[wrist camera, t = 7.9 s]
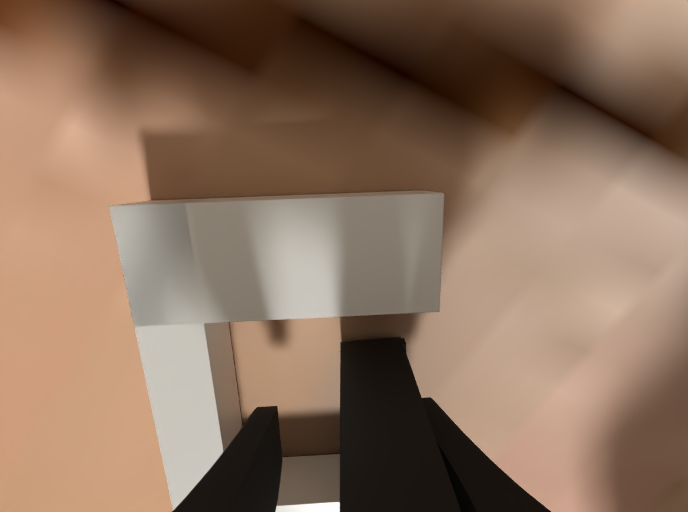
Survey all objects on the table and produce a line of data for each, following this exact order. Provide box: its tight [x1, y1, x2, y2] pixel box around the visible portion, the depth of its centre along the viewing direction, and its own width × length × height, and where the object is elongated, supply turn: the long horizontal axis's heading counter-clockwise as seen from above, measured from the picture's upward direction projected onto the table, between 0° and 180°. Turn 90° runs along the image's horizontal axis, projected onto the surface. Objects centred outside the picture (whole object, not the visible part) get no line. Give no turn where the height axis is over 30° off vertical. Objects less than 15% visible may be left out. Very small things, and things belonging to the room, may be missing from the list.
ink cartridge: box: [340, 337, 461, 512], centre depth 9 cm, size 5×2×8 cm, turn 5°
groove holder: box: [109, 190, 444, 512], centre depth 11 cm, size 14×9×2 cm, turn 2°
